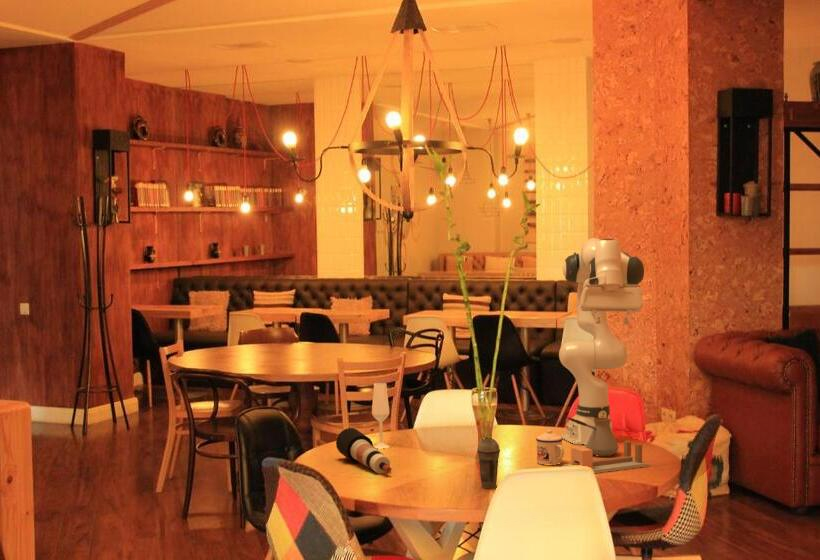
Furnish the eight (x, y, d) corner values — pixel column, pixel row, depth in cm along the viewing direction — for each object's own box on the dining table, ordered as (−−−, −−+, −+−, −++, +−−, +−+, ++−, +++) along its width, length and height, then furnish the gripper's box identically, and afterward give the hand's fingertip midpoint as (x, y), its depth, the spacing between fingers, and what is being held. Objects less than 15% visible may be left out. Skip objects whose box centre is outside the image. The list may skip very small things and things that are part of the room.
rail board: (563, 467, 356) (563, 447, 356) (625, 460, 367) (625, 439, 367) (583, 475, 346) (583, 453, 345) (647, 466, 356) (647, 445, 356)
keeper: (571, 464, 355) (571, 447, 354) (581, 463, 356) (580, 446, 356) (582, 468, 349) (582, 451, 348) (592, 467, 350) (592, 449, 350)
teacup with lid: (531, 462, 366) (530, 429, 365) (551, 459, 370) (551, 426, 370) (552, 468, 355) (552, 435, 355) (573, 465, 360) (573, 431, 360)
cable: (382, 490, 347) (370, 466, 344) (343, 460, 377) (331, 437, 374) (407, 474, 350) (395, 449, 347) (366, 445, 380) (355, 422, 377)
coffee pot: (605, 450, 384) (605, 409, 384) (625, 455, 374) (625, 414, 373) (557, 456, 375) (556, 414, 374) (576, 462, 364) (575, 419, 364)
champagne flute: (389, 448, 392) (388, 385, 391) (371, 448, 392) (370, 385, 391) (390, 445, 399) (389, 382, 398) (372, 445, 399) (371, 382, 398)
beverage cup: (499, 483, 336) (498, 422, 335) (501, 489, 328) (501, 426, 327) (476, 484, 335) (475, 422, 334) (478, 489, 328) (478, 426, 327)
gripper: (639, 287, 350) (642, 326, 345) (578, 287, 350) (580, 326, 345) (643, 280, 344) (646, 320, 339) (581, 280, 344) (583, 319, 339)
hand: (612, 323), depth 342 cm, fingers open, 8 cm apart
